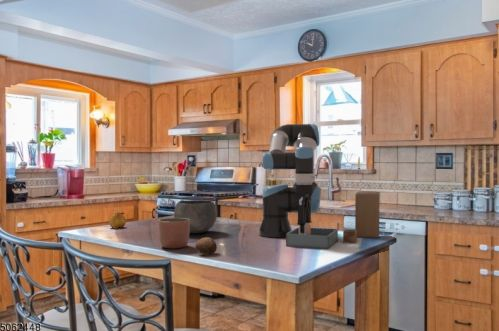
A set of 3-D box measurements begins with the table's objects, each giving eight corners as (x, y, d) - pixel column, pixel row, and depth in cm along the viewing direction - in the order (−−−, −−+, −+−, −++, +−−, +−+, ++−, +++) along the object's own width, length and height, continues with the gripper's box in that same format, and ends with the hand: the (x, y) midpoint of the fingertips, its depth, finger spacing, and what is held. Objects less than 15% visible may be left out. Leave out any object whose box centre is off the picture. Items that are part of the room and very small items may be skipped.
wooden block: (379, 235, 205) (379, 191, 205) (378, 238, 196) (378, 193, 195) (357, 233, 208) (357, 191, 208) (355, 237, 199) (355, 192, 199)
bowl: (165, 234, 208) (165, 202, 208) (188, 228, 227) (187, 199, 227) (204, 237, 200) (204, 204, 200) (224, 230, 219) (223, 200, 219)
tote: (286, 246, 179) (285, 233, 179) (298, 238, 197) (298, 227, 197) (328, 249, 173) (328, 236, 173) (337, 240, 191) (337, 229, 191)
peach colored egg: (297, 242, 185) (297, 225, 185) (300, 240, 189) (300, 223, 189) (308, 242, 183) (308, 225, 183) (312, 240, 187) (312, 224, 187)
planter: (175, 251, 170) (175, 222, 170) (152, 247, 177) (151, 220, 177) (196, 245, 181) (196, 219, 180) (173, 243, 187) (173, 217, 187)
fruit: (122, 224, 225) (123, 210, 229) (106, 226, 225) (107, 211, 229) (126, 230, 232) (128, 216, 236) (111, 232, 232) (112, 218, 236)
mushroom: (195, 242, 170) (200, 230, 167) (215, 250, 171) (220, 238, 168) (190, 256, 163) (196, 244, 160) (211, 264, 164) (216, 252, 161)
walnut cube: (343, 242, 187) (343, 230, 187) (345, 240, 191) (345, 229, 191) (355, 243, 185) (355, 231, 185) (357, 241, 190) (357, 229, 189)
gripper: (307, 184, 176) (307, 243, 176) (318, 183, 193) (318, 236, 193) (289, 184, 179) (289, 242, 179) (301, 182, 196) (301, 235, 196)
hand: (304, 239), depth 186 cm, fingers closed on peach colored egg, 5 cm apart
